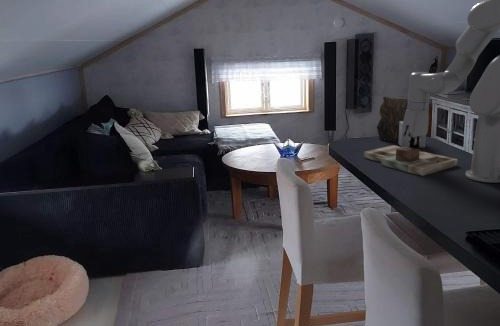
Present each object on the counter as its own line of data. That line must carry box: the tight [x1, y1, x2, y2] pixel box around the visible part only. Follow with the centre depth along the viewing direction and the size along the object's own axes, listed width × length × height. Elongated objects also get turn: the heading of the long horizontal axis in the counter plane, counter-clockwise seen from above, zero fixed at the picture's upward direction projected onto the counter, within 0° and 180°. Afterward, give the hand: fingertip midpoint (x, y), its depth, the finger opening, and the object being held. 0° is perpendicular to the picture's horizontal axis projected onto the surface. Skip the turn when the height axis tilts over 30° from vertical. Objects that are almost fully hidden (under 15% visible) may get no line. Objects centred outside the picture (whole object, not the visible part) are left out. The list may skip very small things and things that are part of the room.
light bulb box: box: [397, 121, 427, 148], centre depth 194 cm, size 11×7×11 cm, turn 84°
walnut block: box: [396, 147, 421, 162], centre depth 164 cm, size 6×6×4 cm
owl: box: [376, 96, 408, 143], centre depth 207 cm, size 13×13×20 cm
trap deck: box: [363, 144, 459, 177], centre depth 170 cm, size 29×21×2 cm
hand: (413, 153), depth 168 cm, fingers closed
